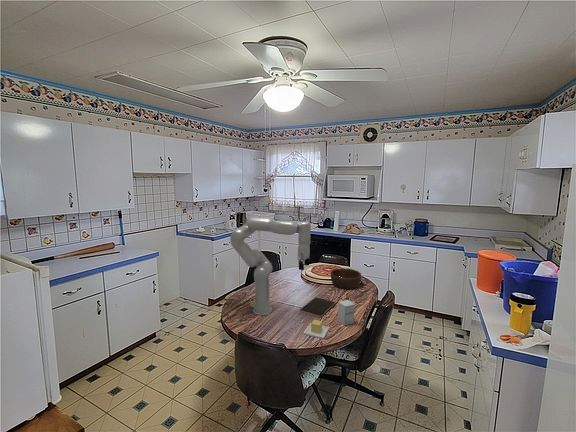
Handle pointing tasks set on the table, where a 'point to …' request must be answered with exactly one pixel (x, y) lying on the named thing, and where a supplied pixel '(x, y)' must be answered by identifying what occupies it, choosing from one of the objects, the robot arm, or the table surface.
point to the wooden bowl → (345, 278)
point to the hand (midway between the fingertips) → (304, 267)
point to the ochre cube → (316, 326)
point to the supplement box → (345, 312)
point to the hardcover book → (317, 307)
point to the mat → (321, 335)
